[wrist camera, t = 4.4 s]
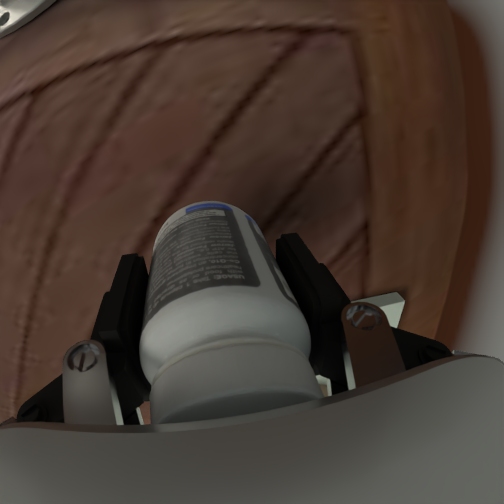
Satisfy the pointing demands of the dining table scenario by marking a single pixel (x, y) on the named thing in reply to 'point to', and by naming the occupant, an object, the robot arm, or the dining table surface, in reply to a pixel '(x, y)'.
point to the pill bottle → (221, 321)
